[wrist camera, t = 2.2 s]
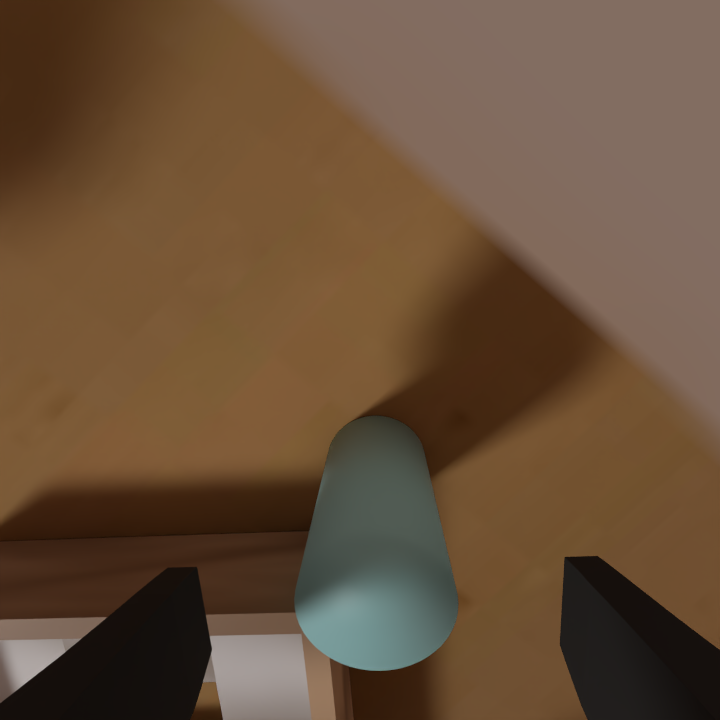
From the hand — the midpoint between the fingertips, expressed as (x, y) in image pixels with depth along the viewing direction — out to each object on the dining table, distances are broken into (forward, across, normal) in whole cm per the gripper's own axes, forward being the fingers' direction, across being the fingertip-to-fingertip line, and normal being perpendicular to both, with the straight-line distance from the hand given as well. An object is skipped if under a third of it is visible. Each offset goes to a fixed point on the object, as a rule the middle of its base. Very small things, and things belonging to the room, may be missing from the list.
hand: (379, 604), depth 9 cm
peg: (+6, 0, 0) cm, 6 cm away
